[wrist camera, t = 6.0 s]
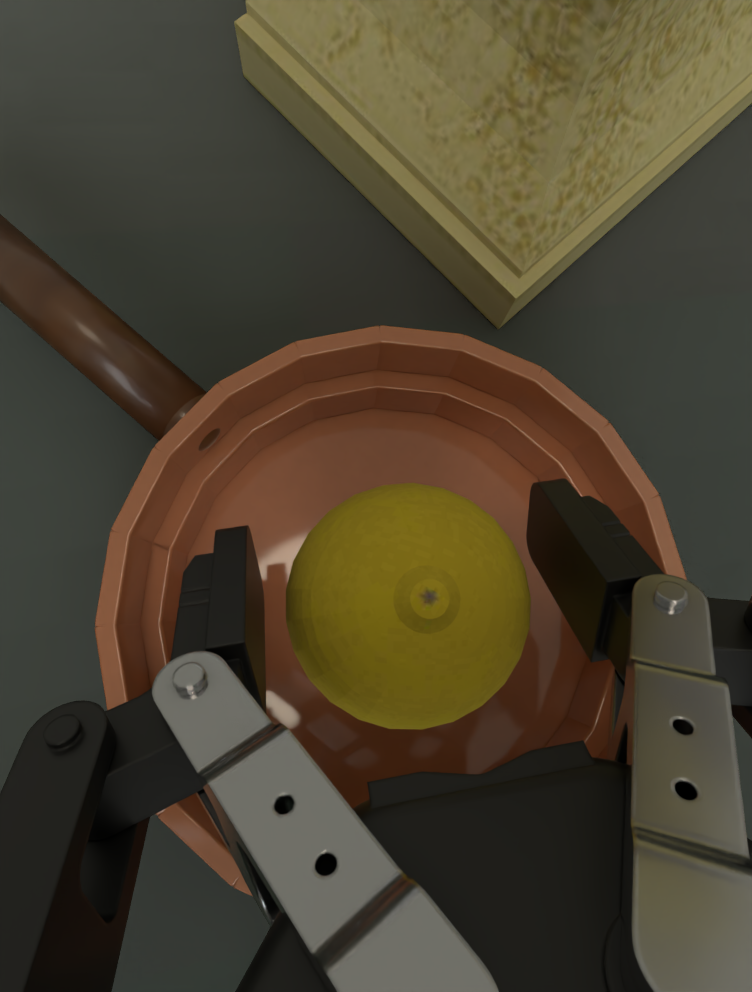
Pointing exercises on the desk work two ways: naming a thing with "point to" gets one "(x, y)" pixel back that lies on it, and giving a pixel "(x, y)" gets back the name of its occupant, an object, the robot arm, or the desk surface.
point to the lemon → (408, 606)
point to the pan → (333, 479)
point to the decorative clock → (502, 116)
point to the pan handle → (94, 337)
